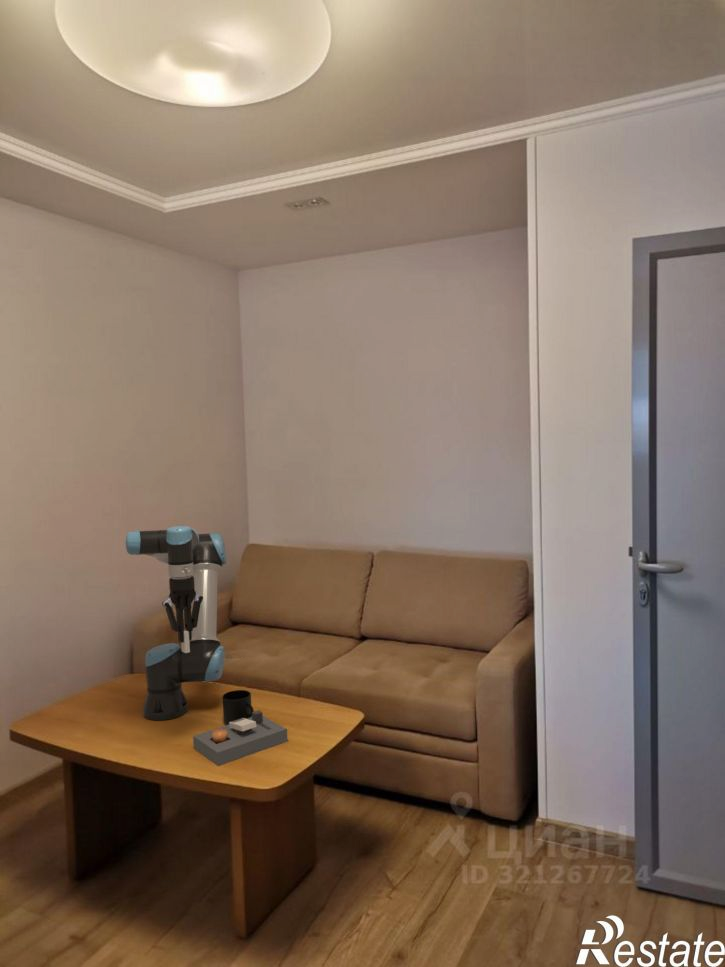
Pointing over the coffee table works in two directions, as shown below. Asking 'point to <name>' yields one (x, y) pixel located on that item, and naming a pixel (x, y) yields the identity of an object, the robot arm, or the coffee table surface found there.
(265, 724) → the panel
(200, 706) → the coffee table surface
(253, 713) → the slider
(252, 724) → the rocker
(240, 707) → the mug
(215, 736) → the button
